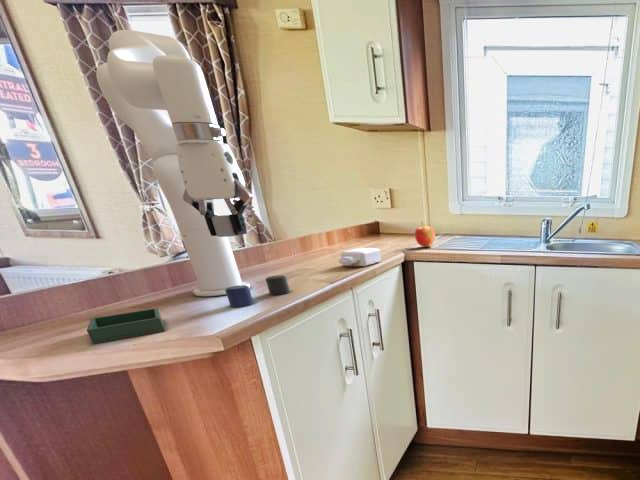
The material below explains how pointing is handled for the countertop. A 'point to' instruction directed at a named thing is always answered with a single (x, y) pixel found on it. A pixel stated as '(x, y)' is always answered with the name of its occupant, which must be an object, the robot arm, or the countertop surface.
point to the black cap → (277, 285)
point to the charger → (360, 257)
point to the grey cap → (223, 226)
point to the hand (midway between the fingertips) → (229, 233)
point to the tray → (125, 325)
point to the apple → (425, 236)
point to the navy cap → (239, 296)
